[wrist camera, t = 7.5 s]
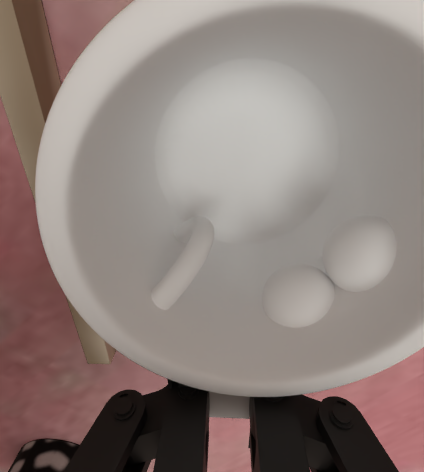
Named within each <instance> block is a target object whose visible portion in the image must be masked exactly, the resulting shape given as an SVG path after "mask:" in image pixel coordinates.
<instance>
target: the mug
mask: <svg viewBox="0 0 424 472" xmlns="http://www.w3.org/2000/svg"><path fill="white" fill-rule="evenodd" d="M35 201H36V212H37V219H38V225H39V230H40V235H41V239H42V243H43V246H44V249H45V253H46V256H47V258H48V261H49V263H50V266H51V268H52V271H53V273H54V275H55V277H56V279H57V281H58V283H59V285H60V286H61V288H62V290H63V292H64V293H65V295H66V296H67V298H68V300H69V301H70V302H71V304H72V305H73V307H74V308H75V309H76V311H77V312H78V313H79V314H80V316H81V317H82V318H83V319H84V320H85V322H86V323H87V324H88V325H89V326H90V327H91V328H92V329H93V330H94V331H95V332H96V333H97V334H98V335H99V336H100V337H101V338H102V339H104V340H105V341H106V342H107V343H108V344H109V345H111V346H112V347H113V348H115V349H116V350H117V351H119V352H120V353H121V354H123V355H124V356H126V357H127V358H129V359H130V360H132V361H133V362H135V363H137V364H138V365H140V366H142V367H144V368H146V369H148V370H150V371H152V372H154V373H156V374H158V375H160V376H162V377H165V378H167V379H170V380H172V381H175V382H178V383H180V384H183V385H187V386H190V387H193V388H197V389H201V390H205V391H210V392H215V393H220V394H227V395H235V396H247V397H280V396H292V395H301V394H308V393H313V392H319V391H323V390H328V389H332V388H336V387H339V386H343V385H346V384H349V383H352V382H355V381H358V380H361V379H364V378H366V377H369V376H371V375H373V374H376V373H378V372H380V371H382V370H385V369H387V368H389V367H391V366H393V365H395V364H397V363H398V362H400V361H402V360H404V359H406V358H407V357H409V356H411V355H412V354H414V353H415V352H417V351H418V350H420V349H421V348H423V347H424V0H134V1H133V2H132V3H130V4H129V5H128V6H127V7H125V8H124V9H123V10H122V11H121V12H119V13H118V14H117V15H116V16H115V17H114V18H113V19H112V20H111V21H110V22H109V23H108V24H107V25H106V26H105V27H104V28H103V29H102V30H101V31H100V32H99V33H98V34H97V35H96V36H95V37H94V39H93V40H92V41H91V42H90V43H89V45H88V46H87V47H86V48H85V50H84V51H83V52H82V54H81V55H80V56H79V58H78V59H77V61H76V62H75V63H74V65H73V66H72V68H71V70H70V71H69V73H68V74H67V76H66V78H65V80H64V81H63V83H62V85H61V87H60V89H59V91H58V93H57V95H56V97H55V100H54V102H53V104H52V107H51V109H50V112H49V114H48V117H47V120H46V123H45V126H44V130H43V133H42V137H41V141H40V146H39V151H38V157H37V165H36V176H35Z"/></svg>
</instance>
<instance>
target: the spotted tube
mask: <svg viewBox="0 0 424 472" xmlns="http://www.w3.org/2000/svg"><path fill="white" fill-rule="evenodd" d="M78 448H79V445H76V444H73V443H70V442H65V441H61V440H50V439H43V440H36V441H32V442H29V443H27V444H25V445H24V446H23V447H22V448H21V450H20V451H19V453H18V455H17V457H16V459H15V460H14V462H13V464H12V466H11V467H10V469H9V471H8V472H63V471H64V470H65V468H66V467H67V465H68V464H69V462H70V460H71V459H72V457H73V456H74V454H75V452H76V451H77V449H78Z"/></svg>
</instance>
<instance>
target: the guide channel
mask: <svg viewBox="0 0 424 472" xmlns="http://www.w3.org/2000/svg"><path fill="white" fill-rule="evenodd" d="M60 87H61V83H60V79H59V74H58V70H57V66H56V61H55V57H54V53H53V49H52V44H51V40H50V36H49V32H48V27H47V23H46V19H45V14H44V10H43V6H42V2H41V0H0V96H1V99H2V102H3V105H4V108H5V111H6V114H7V117H8V120H9V124H10V127H11V130H12V133H13V136H14V139H15V142H16V145H17V148H18V151H19V154H20V157H21V160H22V163H23V166H24V170H25V173H26V176H27V179H28V182H29V185H30V188H31V191H32V194H33V197H34V200H35V176H36V165H37V157H38V151H39V146H40V141H41V137H42V133H43V130H44V126H45V123H46V120H47V117H48V114H49V112H50V109H51V107H52V104H53V102H54V100H55V97H56V95H57V93H58V91H59V89H60ZM35 203H36V201H35ZM66 298H67V296H66ZM67 301H68V304H69V308H70V311H71V314H72V317H73V320H74V323H75V326H76V329H77V332H78V335H79V338H80V341H81V344H82V347H83V350H84V354H85V357H86V360H87V363H88V364H111V362H112V359H113V357H114V354H115V352H116V349H115V348H113V347H112V346H111V345H109V344H108V343H107V342H106V341H105V340H104V339H102V338H101V337H100V336H99V335H98V334H97V333H96V332H95V331H94V330H93V329H92V328H91V327H90V326H89V325H88V324H87V323H86V322H85V320H84V319H83V318H82V317H81V316H80V314H79V313H78V312H77V311H76V309H75V308H74V307H73V305H72V304H71V302H70V301H69V300H68V298H67Z"/></svg>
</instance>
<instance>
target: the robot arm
mask: <svg viewBox="0 0 424 472" xmlns="http://www.w3.org/2000/svg"><path fill="white" fill-rule="evenodd" d="M249 416H250V437H249V448H250V452H251V468H252V472H310V470H311V472H399V471H398V470H397V468H396V467H395V465H394V463H393V462H392V460H391V459H390V457H389V456H388V454H387V453H386V451H385V450H384V448H383V447H382V445H381V443H380V442H379V440H378V439H377V437H376V436H375V434H374V433H373V431H372V430H371V428H370V426H369V425H368V423H367V422H366V420H365V419H364V417H363V416H362V414H361V413H360V411H359V410H358V409H357V408H356V407H355V406H354V405H353V404H352V403H350V402H349V401H347V400H346V399H343V398H340V397H327V398H325V399H323V400H322V402H320V401H317V400H315V399H312V398H309V397H306V396H304V395H302V394H301V395H292V396H280V397H247V396H235V395H227V394H220V393H215V392H210V391H205V390H201V389H197V388H193V387H190V386H187V385H183V384H180V383H178V382H175V381H172V380H170V379H168V385H167V386H166V387H164V388H163V389H161V390H159V391H156V392H153V393H150V394H146V395H143V396H142V395H141V393H139V392H137V391H136V390H124V391H120V392H118V393H117V394H115V395H114V396H112V397H111V398H110V400H109V401H108V402H107V403H106V405H105V406H104V408H103V409H102V411H101V413H100V414H99V416H98V417H97V419H96V421H95V422H94V424H93V425H92V427H91V429H90V430H89V432H88V433H87V435H86V436H85V438H84V440H83V441H82V443H81V444H80V446H79V448H78V449H77V451H76V452H75V454H74V456H73V457H72V459H71V460H70V462H69V464H68V465H67V467H66V468H65V470H64V471H63V472H147V469H148V467H149V465H150V462H151V460H152V459H155V458H156V460H155V465H154V470H153V472H207V462H208V442H209V417H221V418H245V419H249ZM309 467H310V469H309Z"/></svg>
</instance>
